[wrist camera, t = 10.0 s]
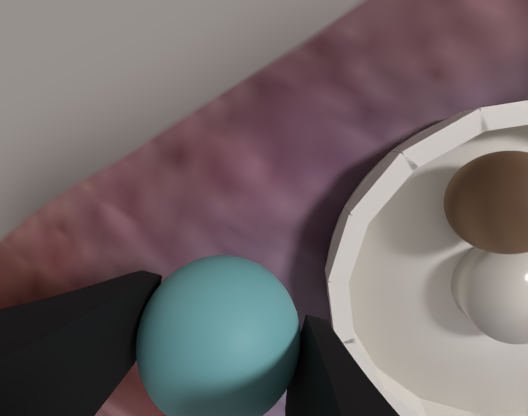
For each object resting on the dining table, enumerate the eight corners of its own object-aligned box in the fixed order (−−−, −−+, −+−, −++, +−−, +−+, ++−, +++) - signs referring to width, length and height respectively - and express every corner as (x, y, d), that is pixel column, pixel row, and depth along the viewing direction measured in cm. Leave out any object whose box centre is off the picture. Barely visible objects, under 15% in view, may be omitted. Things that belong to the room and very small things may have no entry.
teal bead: (281, 365, 11) (274, 505, 7) (164, 334, 11) (87, 450, 7) (313, 254, 10) (329, 335, 6) (185, 221, 10) (110, 277, 6)
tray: (581, 449, 19) (622, 493, 16) (291, 367, 19) (290, 398, 17) (758, 155, 15) (847, 157, 12) (383, 66, 15) (399, 52, 13)
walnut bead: (474, 249, 16) (580, 278, 12) (409, 228, 15) (503, 253, 11) (502, 169, 16) (620, 169, 12) (439, 140, 15) (546, 129, 10)
